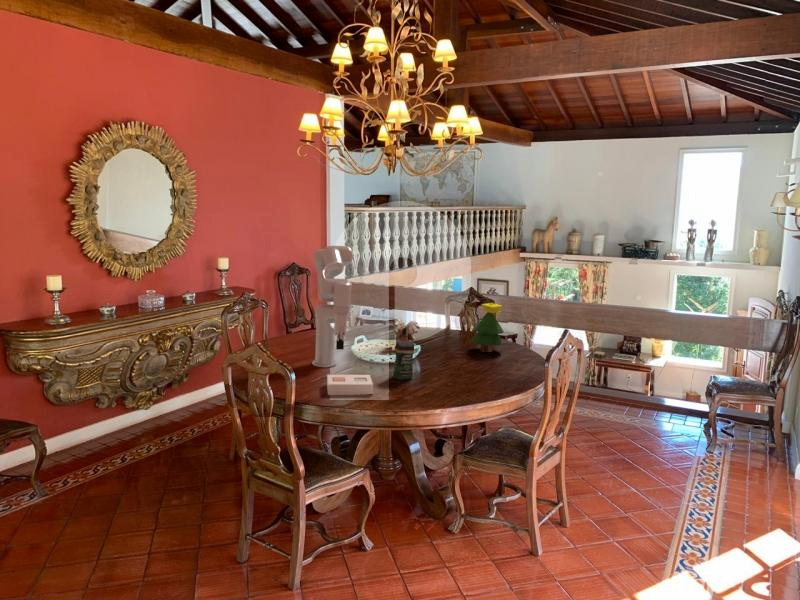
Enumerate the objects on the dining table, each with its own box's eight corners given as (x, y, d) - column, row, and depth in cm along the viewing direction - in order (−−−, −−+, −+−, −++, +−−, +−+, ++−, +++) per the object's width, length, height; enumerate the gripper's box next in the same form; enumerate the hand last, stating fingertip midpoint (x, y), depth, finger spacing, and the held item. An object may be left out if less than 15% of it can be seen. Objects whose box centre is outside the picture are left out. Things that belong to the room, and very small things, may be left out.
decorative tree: (463, 349, 356) (467, 300, 351) (486, 345, 368) (490, 298, 362) (486, 357, 341) (490, 306, 336) (509, 353, 353) (514, 304, 347)
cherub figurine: (421, 346, 358) (423, 317, 355) (420, 354, 341) (422, 323, 338) (392, 343, 360) (394, 315, 357) (389, 351, 342) (391, 321, 339)
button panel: (326, 384, 278) (327, 374, 278) (369, 384, 282) (369, 374, 281) (328, 395, 265) (328, 384, 264) (372, 395, 268) (373, 384, 267)
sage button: (354, 385, 276) (354, 378, 275) (365, 385, 277) (365, 378, 276) (355, 389, 271) (355, 382, 270) (366, 389, 272) (366, 382, 271)
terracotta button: (332, 384, 274) (333, 377, 274) (343, 384, 275) (343, 377, 274) (333, 387, 269) (333, 380, 269) (344, 387, 270) (344, 380, 270)
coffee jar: (395, 380, 290) (397, 343, 287) (391, 375, 298) (393, 339, 294) (414, 380, 293) (416, 343, 290) (409, 375, 301) (412, 339, 297)
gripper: (332, 305, 272) (330, 344, 276) (333, 313, 258) (332, 353, 262) (348, 306, 274) (346, 344, 277) (351, 313, 259) (349, 354, 263)
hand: (339, 348), depth 269 cm, fingers closed
